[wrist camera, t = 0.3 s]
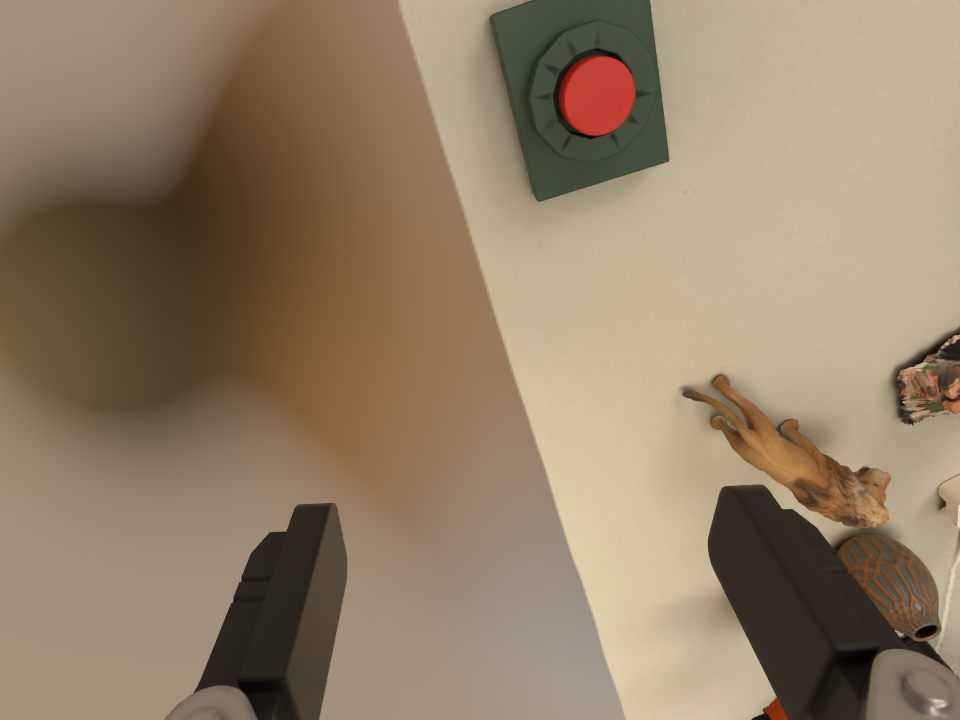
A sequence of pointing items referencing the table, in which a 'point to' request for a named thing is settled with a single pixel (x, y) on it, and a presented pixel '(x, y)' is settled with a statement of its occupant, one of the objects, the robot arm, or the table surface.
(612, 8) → the button block
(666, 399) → the table surface
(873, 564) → the vase
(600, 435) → the table surface
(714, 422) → the lion figurine
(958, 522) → the joystick
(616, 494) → the table surface
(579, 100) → the button
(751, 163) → the table surface
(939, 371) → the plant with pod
